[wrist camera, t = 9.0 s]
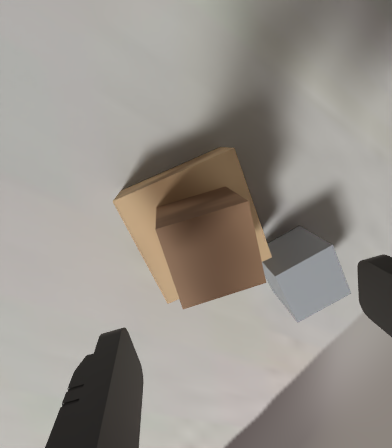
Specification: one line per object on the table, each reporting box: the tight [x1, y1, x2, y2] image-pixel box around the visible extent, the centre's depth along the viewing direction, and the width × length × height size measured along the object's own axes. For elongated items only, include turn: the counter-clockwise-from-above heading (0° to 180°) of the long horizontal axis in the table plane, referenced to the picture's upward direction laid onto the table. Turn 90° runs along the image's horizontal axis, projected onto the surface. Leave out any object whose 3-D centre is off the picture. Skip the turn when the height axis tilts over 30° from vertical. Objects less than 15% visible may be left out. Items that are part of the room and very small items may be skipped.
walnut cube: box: [155, 186, 266, 309], centre depth 15 cm, size 4×4×4 cm
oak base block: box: [113, 147, 272, 304], centre depth 19 cm, size 8×8×4 cm
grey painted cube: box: [262, 226, 351, 322], centre depth 21 cm, size 4×4×4 cm
